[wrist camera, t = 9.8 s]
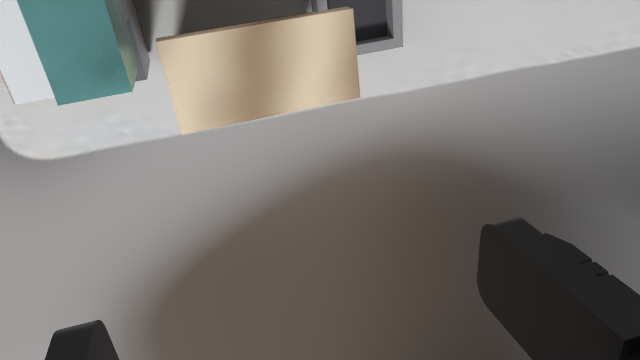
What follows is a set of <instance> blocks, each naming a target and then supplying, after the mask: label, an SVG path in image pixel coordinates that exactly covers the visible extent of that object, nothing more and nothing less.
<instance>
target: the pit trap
mask: <svg viewBox="0 0 640 360" xmlns="http://www.w3.org/2000/svg"><path fill="white" fill-rule="evenodd" d="M311 3H312V11H313V12H317V11H323V10H329V9H335V8H341V7H350V8H353V13H354V26H355V38H356V51H357V55H361V54H367V53H372V52H377V51H382V50H388V49H393V48H398V47H403V32H402V2H401V0H311Z"/></svg>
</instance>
